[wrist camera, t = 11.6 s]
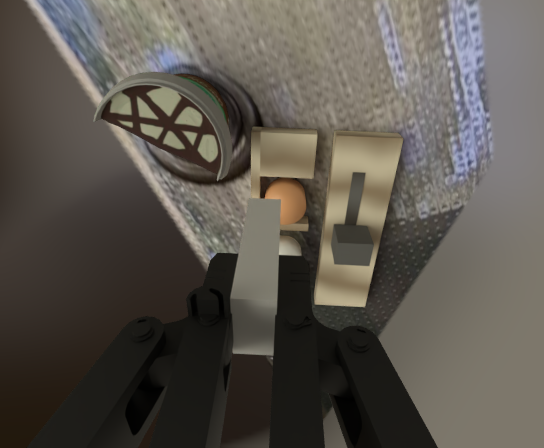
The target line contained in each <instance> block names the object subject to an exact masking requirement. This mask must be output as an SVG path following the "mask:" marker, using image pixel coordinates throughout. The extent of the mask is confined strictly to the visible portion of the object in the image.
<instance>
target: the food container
mask: <svg viewBox="0 0 544 448" xmlns="http://www.w3.org/2000/svg"><path fill="white" fill-rule="evenodd" d="M100 119H103V120H106V121H107V122H109V123H111V124H114V125H117V126H119V127H121V128H123V129H125V130H127V131H129V132H131V133H133V134H135V135H137V136H138V137H140V138H142V139H144V140H146V141H147V142H149V143H151V144H153V145H155V146H156V147H158V148H160V149H162V150H165V151H167V152H169V153H172V154H174V155H177V156H179V157H182V158H184V159H186V160H189V161H191V162H193V163H195V164H197V165H199V166H201V167H203V168H205V169H207V170H209V171H211V172H213V173H216V174H218V178H217V181H218V180H219V178H220V179H223V178H224V177H225V176H226V175H227V173H228V170H229V167H230V163H231V158H232V142H231V135H230V131H229V115H228V111H227V107H226V104H225V102H224V100H223V99H222V97H221V95H220V94H219V92H218V91H217V90H216V89H215V88H214V87H213V86H212V85H211V84H210V83H209V82H207V81H206V80H204V79H202V78H200V77H197V76H194V75H190V74H174V75H171V74H167V73H160V72H146V73H140V74H136V75H132V76H130V77H128V78H126V79H124V80H122V81H120V82H119V83H118V84H116V85H115V86H114V87H113V88H112V89H111V90H110V91H109V92H108V93H107V95H106V96H105V97H104V98H103V100H102V101H101V103H100V105H99V106H98V108H97V110H96V113H95V116H94V121H97V120H100Z"/></svg>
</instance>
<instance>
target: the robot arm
mask: <svg viewBox="0 0 544 448" xmlns="http://www.w3.org/2000/svg"><path fill="white" fill-rule="evenodd" d="M280 213H281V199H260V198H249V202H248V208H247V213H246V218H245V223H244V228H243V234H242V239H241V244H240V249H239V254H233V253H217V254H216V255H215V256H214V257H213V258H212V259H211V260H210V263H209V267H208V271H207V274H206V278H205V281H204V284H203V286H201V287H199V288H196V289H194V290H193V291H192V292H190V294H189V295H188V297H187V298H186V301H187V307H188V314H189V316H188V317H186V318H184V319H182V320H179V321H176V322H172V323H167V324H162V322H161V321H160V320H159V319H157V318H155V317H147V316H146V317H141V318H137V319H135V320H133V321H131V322H129V323H128V324H127V325H126V326H125V327H124V328H123V329H122V330H121V332H120V333H119V334H118V335H117V337H116V338H115V339H114V340H113V342H112V343H111V344H110V345H109V346H108V348H107V349H106V350H105V351H104V353H103V354H102V355H101V356H100V358H99V359H98V360H97V361H96V363H95V364H94V365H93V367H92V368H91V369H90V370H89V371H88V373H87V374H86V375H85V376H84V377H83V379H82V380H81V381H80V383H79V384H78V385H77V386H76V387H75V389H74V390H73V391H72V392H71V394H70V395H69V396H68V397H67V399H66V400H65V401H64V402H63V403H62V405H61V406H60V407H59V408H58V410H57V411H56V412H55V413H54V415H53V416H52V417H51V418H50V420H49V421H48V422H47V423H46V424H45V426H44V427H43V428H42V430H41V431H40V432H39V433H38V435H37V436H36V437H35V438H34V439H33V441H32V442H31V443H30V445H29V446H28V447H27V448H138V446H139V444H140V442H141V441H142V439H143V437H144V435H145V434H146V432H147V430H148V428H149V427H150V425H151V423H152V421H153V419H154V418H155V416H156V414H157V412H158V411H159V409H160V407H161V410H160V413H159V416H158V419H157V423H156V426H155V429H154V432H153V436H152V439H151V442H150V446H149V448H219V447H220V440H221V434H222V427H223V421H224V414H225V407H226V401H227V394H228V387H229V380H230V374H231V355H232V348H233V353H238V354H258V355H273V376H272V398H271V420H270V421H271V422H270V443H269V448H325V444H324V431H323V418H322V405H321V392H320V390H322V391H325V392H328V393H329V396H330V399H331V402H332V405H333V408H334V411H335V413H336V416H337V419H338V422H339V425H340V428H341V431H342V434H343V436H344V439H345V442H346V445H347V448H438V447H437V445H436V443H435V441H434V440H433V438H432V436H431V434H430V432H429V430H428V429H427V427H426V425H425V423H424V422H423V420H422V418H421V416H420V414H419V412H418V410H417V409H416V407H415V405H414V403H413V401H412V399H411V398H410V396H409V394H408V392H407V391H406V389H405V387H404V385H403V383H402V381H401V379H400V378H399V376H398V374H397V372H396V371H395V369H394V367H393V365H392V363H391V361H390V359H389V357H388V356H387V354H386V352H385V350H384V348H383V347H382V345H381V343H380V341H379V339H378V338H377V337H376V336H375V334H374V333H373V332H371V331H370V330H368V329H367V328H364V327H360V326H349V327H346V328H344V329H343V330H341V331H337V330H334V329H331V328H328V327H326V326H324V325H322V324H321V323H319V322H318V320H317V319H316V318H315V317H314V315H313V312H312V304H311V290H310V277H309V264H308V263H307V261H306V260H305V258H304V257H303V256H294V255H279V240H280ZM161 405H162V406H161Z"/></svg>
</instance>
